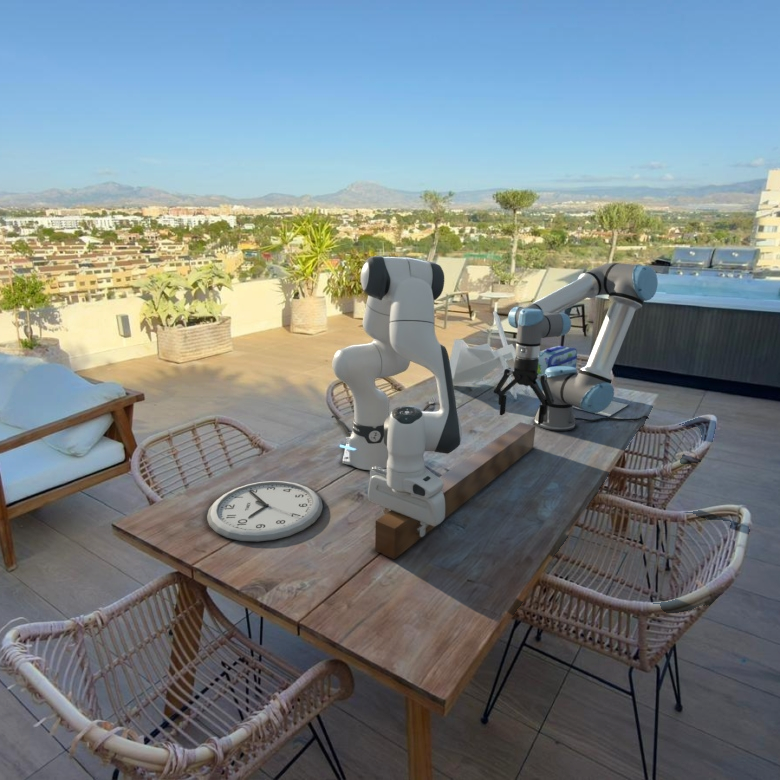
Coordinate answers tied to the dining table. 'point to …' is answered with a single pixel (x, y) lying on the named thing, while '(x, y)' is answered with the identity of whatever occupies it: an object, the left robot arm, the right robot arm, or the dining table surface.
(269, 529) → the wall clock
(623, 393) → the dining table surface
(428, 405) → the fork
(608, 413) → the invitation card
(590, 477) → the dining table surface
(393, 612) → the dining table surface
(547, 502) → the dining table surface
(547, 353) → the lunch box
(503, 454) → the post
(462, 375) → the white plastic object
